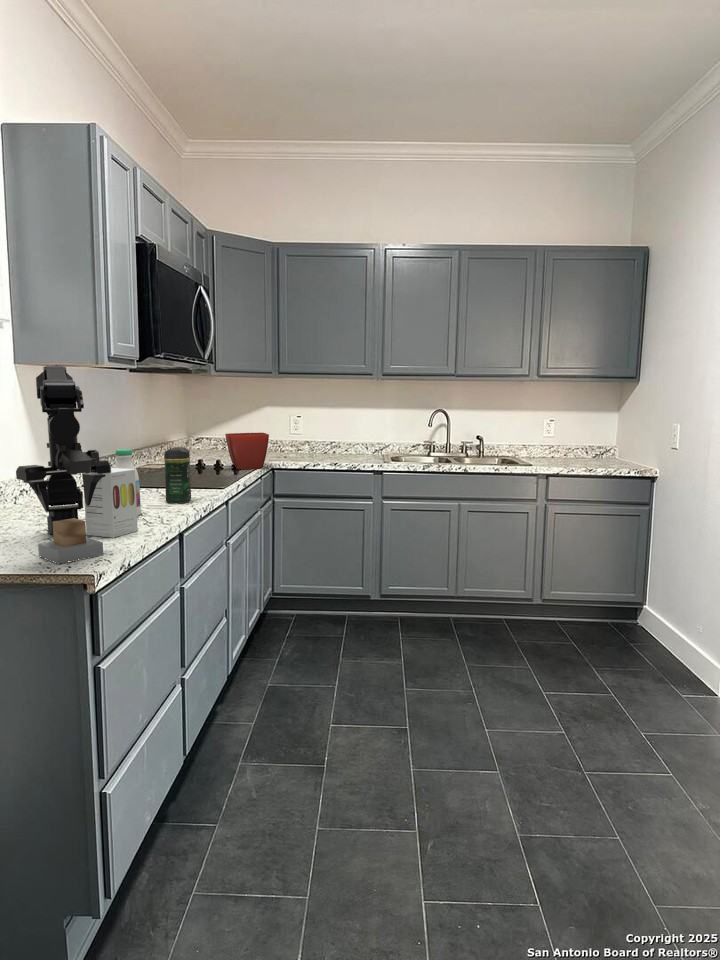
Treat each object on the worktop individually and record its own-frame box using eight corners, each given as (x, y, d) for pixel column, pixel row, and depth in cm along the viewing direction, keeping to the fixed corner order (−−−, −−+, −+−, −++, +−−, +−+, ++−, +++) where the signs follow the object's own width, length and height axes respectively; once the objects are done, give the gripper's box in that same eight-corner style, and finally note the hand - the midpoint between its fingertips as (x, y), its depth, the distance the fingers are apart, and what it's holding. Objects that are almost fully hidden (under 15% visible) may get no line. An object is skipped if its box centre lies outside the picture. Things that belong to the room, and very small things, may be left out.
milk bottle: (110, 515, 189) (106, 449, 186) (135, 512, 194) (132, 447, 191) (119, 519, 183) (115, 451, 180) (145, 515, 188) (141, 449, 185)
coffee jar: (187, 504, 208) (185, 448, 205) (163, 504, 207) (160, 448, 205) (194, 499, 217) (191, 445, 215) (171, 499, 217) (168, 446, 214)
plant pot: (226, 466, 314) (225, 433, 311) (264, 465, 319) (263, 432, 317) (230, 471, 296) (228, 435, 293) (270, 469, 301) (269, 434, 299)
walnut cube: (75, 539, 145) (74, 518, 144) (86, 542, 141) (85, 520, 141) (53, 543, 141) (52, 521, 140) (64, 546, 138) (62, 524, 137)
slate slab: (82, 548, 149) (81, 535, 148) (103, 555, 142) (102, 542, 142) (38, 556, 141) (37, 543, 141) (59, 564, 135) (58, 550, 134)
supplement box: (113, 538, 159) (109, 472, 156) (85, 535, 162) (80, 471, 160) (139, 530, 167) (135, 468, 165) (112, 528, 171) (108, 466, 169)
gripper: (34, 442, 126) (40, 518, 128) (121, 437, 140) (125, 506, 142) (12, 440, 133) (18, 512, 135) (97, 435, 147) (101, 501, 149)
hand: (67, 508), depth 140 cm, fingers open, 9 cm apart
